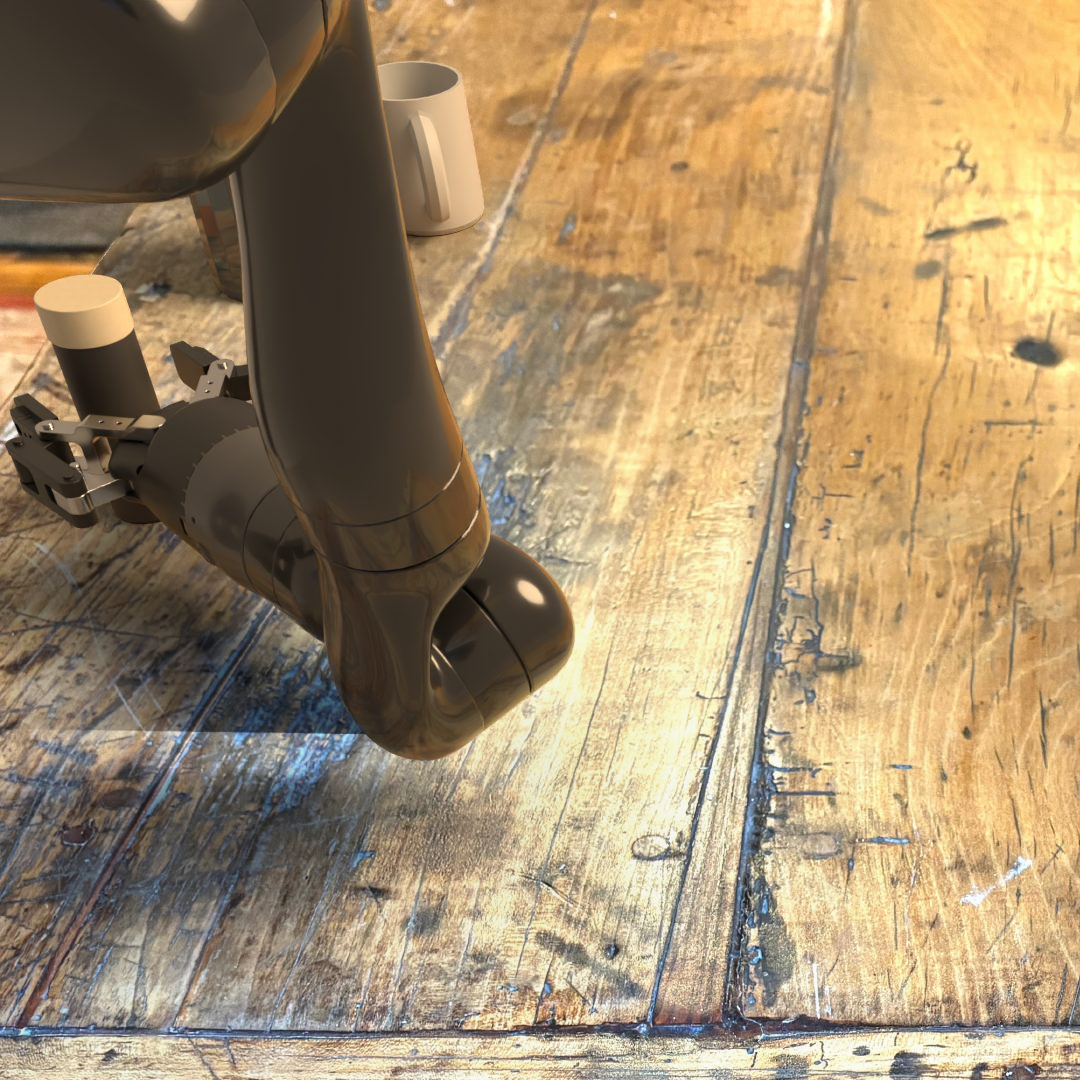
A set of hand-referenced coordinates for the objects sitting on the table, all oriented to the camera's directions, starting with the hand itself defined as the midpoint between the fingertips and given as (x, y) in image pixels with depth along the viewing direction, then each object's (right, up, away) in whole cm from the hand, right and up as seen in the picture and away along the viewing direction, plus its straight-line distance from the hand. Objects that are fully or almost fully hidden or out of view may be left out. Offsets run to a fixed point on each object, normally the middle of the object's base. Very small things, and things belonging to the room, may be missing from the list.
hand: (103, 385), depth 95 cm
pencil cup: (0, +16, +24) cm, 29 cm away
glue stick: (+1, -5, +4) cm, 7 cm away
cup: (+8, +21, +30) cm, 38 cm away
